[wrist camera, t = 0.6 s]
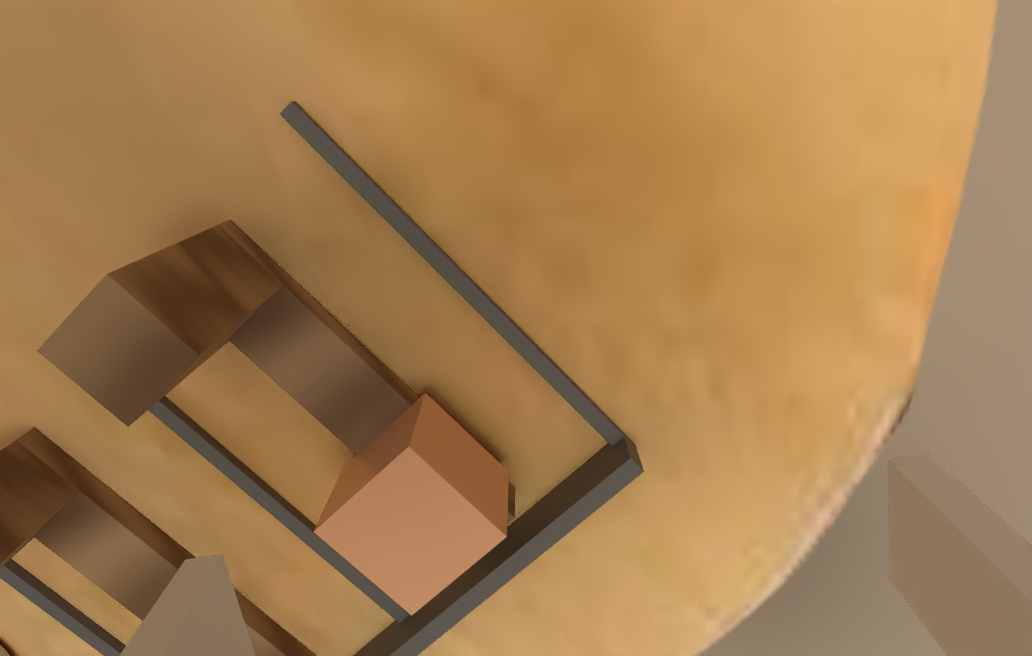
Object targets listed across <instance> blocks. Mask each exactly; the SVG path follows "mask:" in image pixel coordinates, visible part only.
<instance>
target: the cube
mask: <svg viewBox="0 0 1032 656" xmlns="http://www.w3.org/2000/svg"><path fill="white" fill-rule="evenodd" d="M508 480H509V471H508V470H507V469H506V468H504V467H503V466H502V465H501V464H500V463H499V462H498V461H497V460H496V459H495V458H494V457H493V456H492V455H491V454H490V453H489V452H488V451H487V450H485V449H484V448H483V447H482V446H481V445H480V444H479V443H478V442H477V441H476V440H475V439H474V438H473V437H472V436H471V435H470V434H469V433H468V432H466V431H465V430H464V429H463V428H462V427H461V426H460V425H459V424H458V423H457V422H456V421H455V420H454V419H453V418H452V417H451V416H450V415H449V414H447V413H446V412H445V411H444V410H443V409H442V408H441V407H440V406H439V405H438V404H437V403H436V402H435V401H434V400H433V399H432V398H431V397H429V396H428V395H427V394H426V393H425V394H424V395H422V396H421V397H420V398H419V399H418V400H417V401H416V402H415V403H414V404H413V405H411V406H410V407H409V408H408V409H407V410H406V411H405V412H404V413H403V414H402V415H401V416H399V417H398V418H397V419H396V420H395V421H394V422H393V423H392V424H391V425H390V426H388V427H387V428H386V429H385V430H384V431H383V432H382V433H381V434H380V435H379V436H377V437H376V438H375V439H374V440H373V441H372V442H371V443H370V444H369V445H368V446H367V447H365V448H364V449H363V450H362V451H361V452H360V453H359V454H358V455H357V456H356V457H354V458H353V459H352V460H351V461H350V462H349V463H348V464H347V465H346V466H345V467H344V468H343V470H342V472H341V474H340V476H339V478H338V481H337V483H336V485H335V487H334V489H333V491H332V493H331V495H330V498H329V500H328V502H327V504H326V506H325V508H324V510H323V512H322V515H321V517H320V519H319V521H318V523H317V525H316V527H315V530H314V533H315V534H317V535H318V536H319V537H320V538H321V539H322V540H324V541H325V542H326V543H327V544H328V545H329V546H331V547H332V548H333V549H334V550H335V551H336V552H338V553H339V554H340V555H341V556H342V557H343V558H345V559H346V560H347V561H348V562H349V563H350V564H352V565H353V566H354V567H355V568H356V569H357V570H359V571H360V572H361V573H362V574H363V575H364V576H366V577H367V578H368V579H369V580H370V581H371V582H373V583H374V584H375V585H376V586H377V587H379V588H380V589H381V590H382V591H383V592H384V593H386V594H387V595H388V596H389V597H390V598H391V599H393V600H394V601H395V602H396V603H397V604H398V605H400V606H401V607H402V608H403V609H404V610H405V611H407V612H408V613H409V614H410V615H411V616H412V615H413V614H414V613H416V612H417V611H418V610H419V609H420V608H422V607H423V606H424V605H425V604H426V603H428V602H429V601H430V600H431V599H432V598H434V597H435V596H436V595H437V594H438V593H440V592H441V591H442V590H443V589H444V588H446V587H447V586H448V585H449V584H451V583H452V582H453V581H454V580H455V579H457V578H458V577H459V576H460V575H461V574H463V573H464V572H465V571H466V570H467V569H469V568H470V567H471V566H472V565H473V564H475V563H476V562H477V561H478V560H479V559H481V558H482V557H483V556H484V555H486V554H487V553H488V552H489V551H490V550H492V549H493V548H494V547H495V546H496V545H498V544H499V543H500V542H501V541H502V540H504V539H505V538H506V537H507V515H508Z"/></svg>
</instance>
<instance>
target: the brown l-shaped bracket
mask: <svg viewBox="0 0 1032 656" xmlns="http://www.w3.org/2000/svg"><path fill="white" fill-rule="evenodd" d="M34 537H35V538H36V539H37V540H39V541H40V542H41V543H43V544H44V545H45V546H47V547H48V548H49V549H50V550H52V551H53V552H54V553H56V554H57V555H58V556H59V557H61V558H62V559H63V560H65V561H66V562H67V563H69V564H70V565H71V566H72V567H74V568H75V569H76V570H78V571H79V572H80V573H82V574H83V575H84V576H85V577H87V578H88V579H89V580H91V581H92V582H93V583H94V584H96V585H97V586H98V587H100V588H101V589H102V590H104V591H105V592H106V593H107V594H109V595H110V596H111V597H113V598H114V599H115V600H116V601H118V602H119V603H120V604H122V605H123V606H124V607H126V608H127V609H128V610H129V611H131V612H132V613H133V614H135V615H136V616H137V617H139V618H140V619H141V620H142V621H143V620H144V619H145V618H146V616H147V615H148V613H149V612H150V610H151V609H152V607H153V606H154V604H155V603H156V602H157V600H158V599H159V597H160V596H161V594H162V593H163V591H164V590H165V588H166V587H167V585H168V584H169V583H170V581H171V580H172V578H173V577H174V575H175V574H176V572H177V571H178V569H179V568H180V567H181V565H182V564H183V562H184V561H185V560H186V559H193V558H195V557H194V556H192V555H191V554H190V553H189V552H187V551H186V550H185V549H184V548H182V547H181V546H180V545H179V544H178V543H176V542H175V541H174V540H173V539H171V538H170V537H169V536H168V535H166V534H165V533H164V532H163V531H161V530H160V529H159V528H158V527H157V526H155V525H154V524H153V523H152V522H150V521H149V520H148V519H147V518H145V517H144V516H143V515H142V514H140V513H139V512H138V511H137V510H135V509H134V508H133V507H132V506H131V505H129V504H128V503H127V502H126V501H124V500H123V499H122V498H121V497H119V496H118V495H117V494H116V493H114V492H113V491H112V490H111V489H110V488H108V487H107V486H106V485H105V484H103V483H102V482H101V481H100V480H98V479H97V478H96V477H95V476H93V475H92V474H91V473H90V472H89V471H87V470H86V469H85V468H84V467H82V466H81V465H80V464H79V463H77V462H76V461H75V460H74V459H72V458H71V457H70V456H69V455H68V454H66V453H65V452H64V451H63V450H61V449H60V448H59V447H58V446H56V445H55V444H54V443H53V442H51V441H50V440H49V439H48V438H47V437H45V436H44V435H43V434H42V433H40V432H39V431H38V430H37V429H35V428H33V429H32V430H30V431H29V432H27V433H26V434H24V435H23V436H22V437H20V438H19V439H17V440H16V441H14V442H13V443H11V444H10V445H8V446H7V447H6V448H4V449H3V450H1V451H0V568H1V567H2V566H3V565H4V564H5V563H7V562H8V561H9V560H10V559H11V558H12V557H13V556H14V555H15V554H16V553H17V552H19V551H20V550H21V549H22V548H23V547H24V546H25V545H26V544H27V543H28V542H29V541H31V540H32V539H33V538H34ZM234 591H235V594H236V597H237V600H238V603H239V606H240V609H241V612H242V615H243V618H244V622H245V625H246V628H247V631H248V634H249V637H250V640H251V643H252V646H253V649H254V652H255V655H256V656H316V655H315V654H313V653H312V652H311V651H310V650H309V649H307V648H306V647H305V646H304V645H302V644H301V643H300V642H299V641H297V640H296V639H295V638H294V637H292V636H291V635H290V634H289V633H288V632H286V631H285V630H284V629H283V628H281V627H280V626H279V625H278V624H276V623H275V622H274V621H273V620H271V619H270V618H269V617H268V616H267V615H265V614H264V613H263V612H262V611H260V610H259V609H258V608H257V607H255V606H254V605H253V604H252V603H250V602H249V601H248V600H247V599H246V598H244V597H243V596H242V595H241V594H239V593H238V592H237V591H236V590H234Z"/></svg>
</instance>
